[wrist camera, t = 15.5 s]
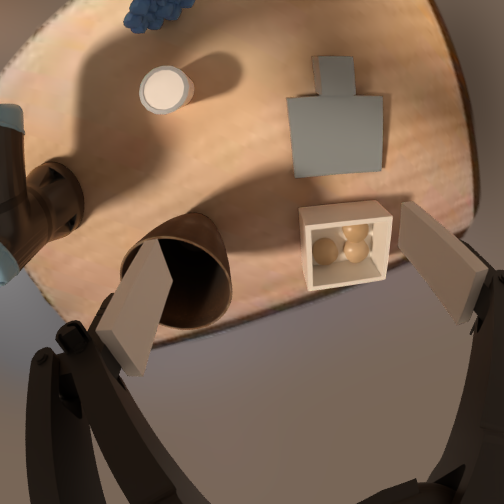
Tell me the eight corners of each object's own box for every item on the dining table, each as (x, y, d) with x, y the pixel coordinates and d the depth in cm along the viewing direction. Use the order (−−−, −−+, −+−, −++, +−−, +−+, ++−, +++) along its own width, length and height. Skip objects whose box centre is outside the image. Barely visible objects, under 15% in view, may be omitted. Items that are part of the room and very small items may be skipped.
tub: (302, 267, 52) (308, 291, 46) (298, 207, 46) (305, 225, 40) (372, 258, 51) (385, 279, 45) (375, 199, 45) (392, 216, 39)
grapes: (195, -19, 26) (177, -51, 16) (214, 9, 29) (201, -20, 19) (130, 18, 29) (95, 0, 19) (147, 46, 32) (113, 32, 22)
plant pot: (161, 268, 52) (136, 328, 39) (147, 194, 45) (106, 239, 31) (239, 267, 52) (235, 330, 38) (235, 189, 45) (227, 234, 31)
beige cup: (148, 84, 35) (130, 82, 29) (187, 62, 34) (175, 55, 28) (166, 119, 39) (152, 124, 33) (206, 99, 37) (197, 98, 31)
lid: (292, 171, 45) (296, 180, 42) (279, 58, 33) (282, 57, 30) (374, 164, 44) (383, 173, 41) (372, 58, 32) (383, 58, 29)
